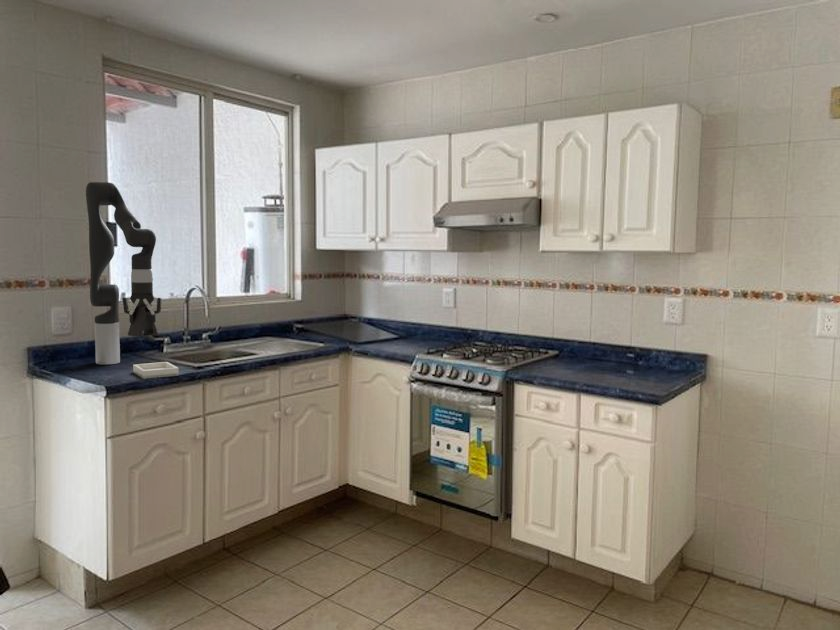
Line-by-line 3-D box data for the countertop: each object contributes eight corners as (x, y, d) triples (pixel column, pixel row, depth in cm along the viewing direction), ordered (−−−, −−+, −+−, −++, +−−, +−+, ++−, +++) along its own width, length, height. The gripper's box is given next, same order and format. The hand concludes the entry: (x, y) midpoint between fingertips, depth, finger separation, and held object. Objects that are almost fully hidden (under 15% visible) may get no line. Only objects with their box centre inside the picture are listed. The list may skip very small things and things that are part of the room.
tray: (133, 372, 253) (133, 364, 253) (167, 369, 261) (167, 361, 261) (143, 378, 242) (143, 371, 241) (178, 375, 250) (178, 367, 249)
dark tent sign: (147, 333, 253) (147, 303, 251) (157, 334, 250) (157, 304, 249) (127, 335, 245) (126, 304, 244) (137, 337, 242) (137, 305, 241)
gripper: (119, 281, 240) (120, 325, 242) (160, 281, 243) (161, 325, 245) (123, 280, 247) (124, 323, 249) (163, 280, 251) (164, 323, 252)
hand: (142, 324), depth 247 cm, fingers closed on dark tent sign, 6 cm apart
